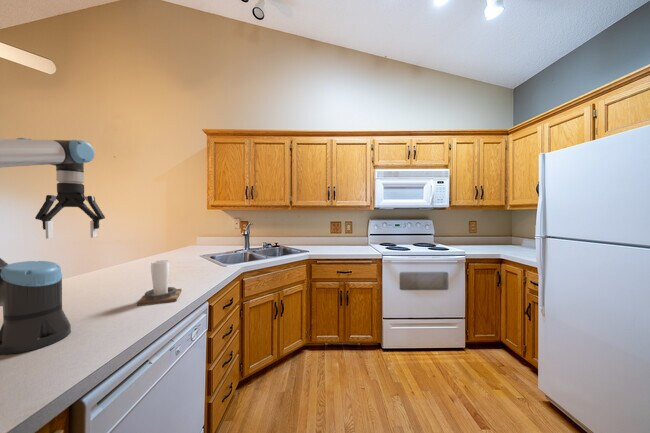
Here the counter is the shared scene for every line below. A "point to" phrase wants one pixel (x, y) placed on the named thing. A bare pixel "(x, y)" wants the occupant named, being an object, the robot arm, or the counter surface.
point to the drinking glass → (160, 276)
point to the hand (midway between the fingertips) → (72, 237)
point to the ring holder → (159, 297)
